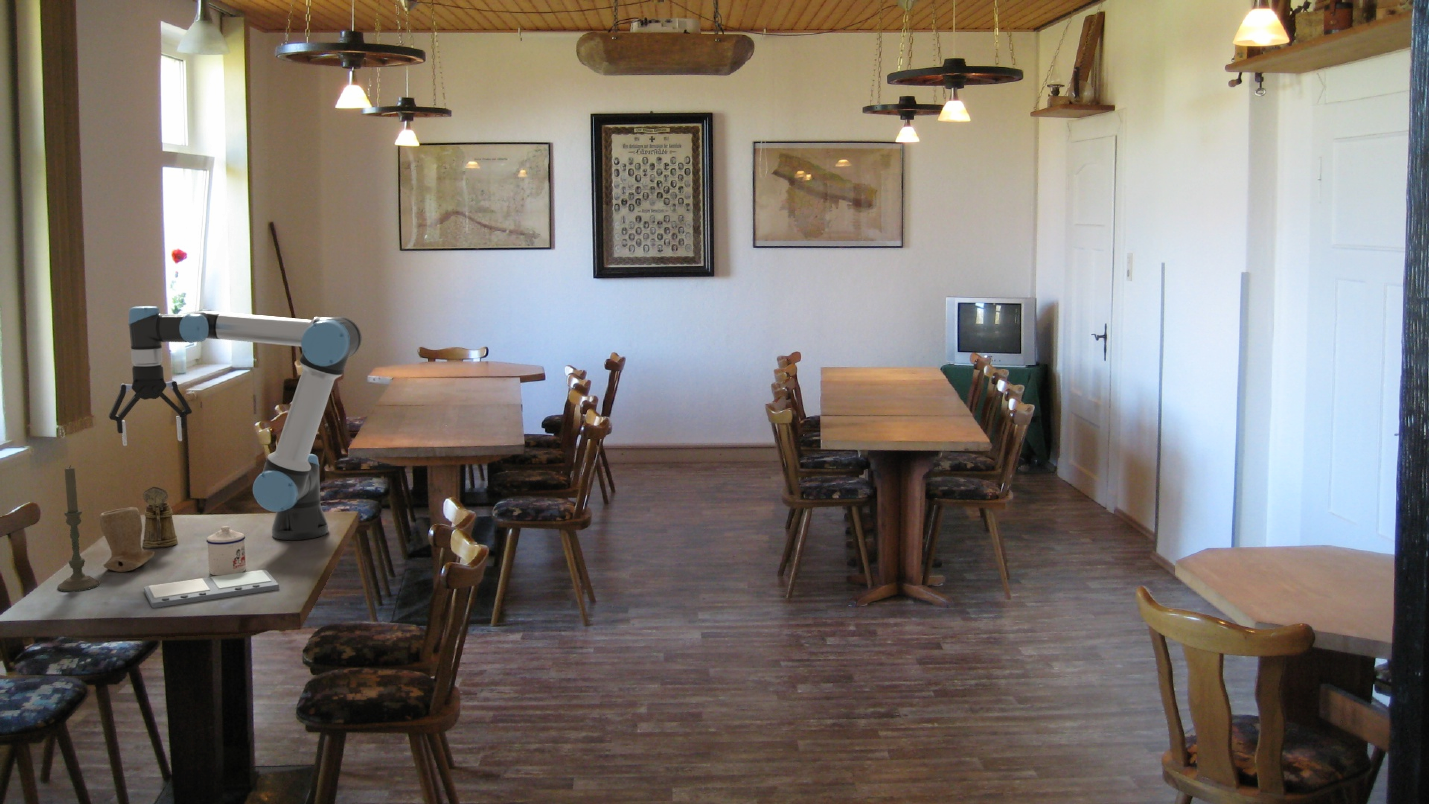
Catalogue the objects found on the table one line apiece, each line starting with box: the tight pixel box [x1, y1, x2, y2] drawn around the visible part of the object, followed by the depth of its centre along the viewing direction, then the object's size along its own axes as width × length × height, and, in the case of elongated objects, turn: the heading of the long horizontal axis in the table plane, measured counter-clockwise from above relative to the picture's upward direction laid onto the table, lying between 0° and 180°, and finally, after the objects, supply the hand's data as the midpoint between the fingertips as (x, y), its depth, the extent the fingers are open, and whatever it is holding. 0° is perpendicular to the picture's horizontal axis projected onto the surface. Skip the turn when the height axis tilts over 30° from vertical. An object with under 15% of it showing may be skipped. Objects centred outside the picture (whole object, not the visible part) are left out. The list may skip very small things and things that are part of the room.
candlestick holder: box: [57, 464, 100, 592], centre depth 297 cm, size 9×9×30 cm
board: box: [143, 569, 280, 609], centre depth 296 cm, size 28×15×1 cm, turn 121°
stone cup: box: [99, 506, 155, 573], centre depth 316 cm, size 15×12×15 cm
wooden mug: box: [142, 486, 178, 549], centre depth 335 cm, size 9×14×18 cm, turn 20°
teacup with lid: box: [206, 525, 247, 576], centre depth 312 cm, size 12×9×12 cm
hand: (152, 442), depth 332 cm, fingers open, 13 cm apart
